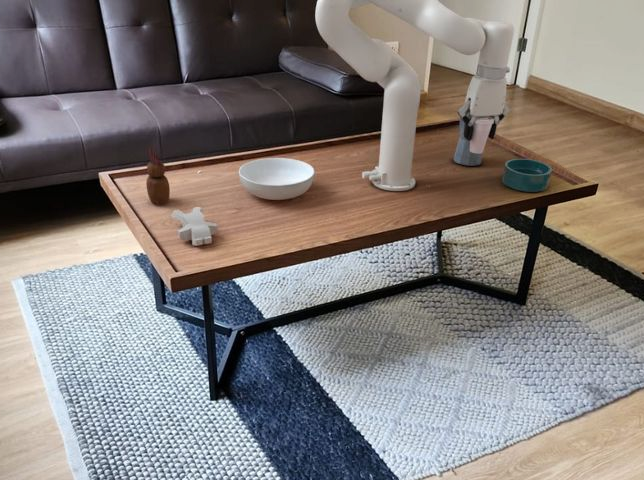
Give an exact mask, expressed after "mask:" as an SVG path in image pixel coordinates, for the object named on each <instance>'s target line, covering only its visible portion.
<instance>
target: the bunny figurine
mask: <svg viewBox="0 0 644 480" xmlns="http://www.w3.org/2000/svg"><path fill="white" fill-rule="evenodd" d="M171 217H172V219H176V220H178V221H180V222H181V226H182V227H181V228H179V229H177V236H178V239H179V240H187V241H188V240H190V241H191V244H192V246H196V247H197V246H203V245H208V244H212V243H213V239H212V236H213V235H215V234H217V233H218V232H219V231H218V224H217V223H215V222H210V221H205V216H204V210H203V209H202V207H200V206H195V207H193V208H192V211H190V212H186V213H185V212H183V211H181V210H179V209H175V210H173V212H172V214H171Z"/></svg>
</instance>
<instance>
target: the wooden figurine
mask: <svg viewBox="0 0 644 480" xmlns="http://www.w3.org/2000/svg"><path fill="white" fill-rule="evenodd" d="M149 159H150V160H149V162H148V163H147V165H146V173H147V175H148V177H147V178H146V191H147V196H148V198H149V200H150V202H151V203H152V204H153V205H157V206H158V205H164V204H166V203H168V201H169V199H170V195H171V193H170V192H171V191H170V190H171V189H170V183H169V180H168V178H167V176H166V175H165V173H166V166H165V164H164V163H163V162H162V161H160V159H159V157H158V155H157V154H156V153H155V149H152V147H151V145H150V146H149Z"/></svg>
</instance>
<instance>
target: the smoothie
mask: <svg viewBox="0 0 644 480" xmlns="http://www.w3.org/2000/svg"><path fill="white" fill-rule="evenodd" d="M493 123H494V118H493V117H491V116H477V117H476V119H475V121H474V123H473V124H472V126H473V127H474V129H473V134H472V139H471V140H470V152H472V153H477V154H480V153H482V154H483V153H484V150H485V146H486V144H487V141H488V138H489V137H488V135H489V132H490V129H491V126H492V124H493Z"/></svg>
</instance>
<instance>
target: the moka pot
mask: <svg viewBox="0 0 644 480" xmlns="http://www.w3.org/2000/svg"><path fill="white" fill-rule="evenodd" d="M463 105H464V104H462V105H460V106H459V109H460V108H461V107H462V106H463ZM468 113H469V112H465V115H466V116H467V114H468ZM464 129H465V123H464V121H463V120H462V119H461V117H460V116H459V138H458V142H457V146H456V148H455V152H454V155H453V162H454V163H456V164H458V165H462V166H467V167H474V166H479V165H481V164H482V161H483V153H480V154H477V153H472V152H470V140H467V139H466V138H464Z"/></svg>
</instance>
